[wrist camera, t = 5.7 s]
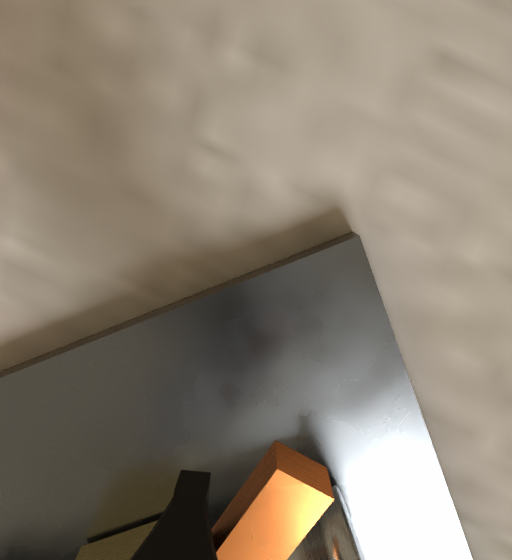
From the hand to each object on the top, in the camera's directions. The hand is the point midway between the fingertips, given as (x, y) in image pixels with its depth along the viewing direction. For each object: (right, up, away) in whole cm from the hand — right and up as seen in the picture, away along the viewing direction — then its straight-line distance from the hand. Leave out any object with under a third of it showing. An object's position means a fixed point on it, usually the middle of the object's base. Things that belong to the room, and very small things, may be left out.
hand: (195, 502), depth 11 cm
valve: (-1, -4, +7) cm, 8 cm away
